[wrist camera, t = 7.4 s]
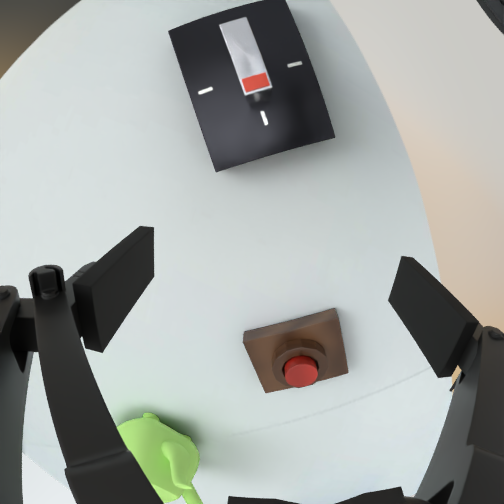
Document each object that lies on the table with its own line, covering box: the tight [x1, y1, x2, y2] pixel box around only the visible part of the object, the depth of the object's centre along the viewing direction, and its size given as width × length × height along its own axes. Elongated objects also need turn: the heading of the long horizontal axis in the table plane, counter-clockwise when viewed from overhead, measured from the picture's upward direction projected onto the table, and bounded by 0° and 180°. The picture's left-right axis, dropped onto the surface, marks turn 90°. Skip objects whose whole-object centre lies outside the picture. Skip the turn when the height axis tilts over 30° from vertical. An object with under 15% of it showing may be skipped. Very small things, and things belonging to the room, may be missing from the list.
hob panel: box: [168, 0, 335, 172], centre depth 26 cm, size 12×16×3 cm
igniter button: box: [284, 355, 318, 387], centre depth 35 cm, size 4×4×2 cm
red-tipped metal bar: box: [219, 17, 273, 107], centre depth 21 cm, size 6×2×8 cm, turn 18°
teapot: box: [117, 413, 203, 504], centre depth 42 cm, size 25×22×16 cm
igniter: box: [243, 308, 349, 393], centre depth 38 cm, size 12×10×4 cm
